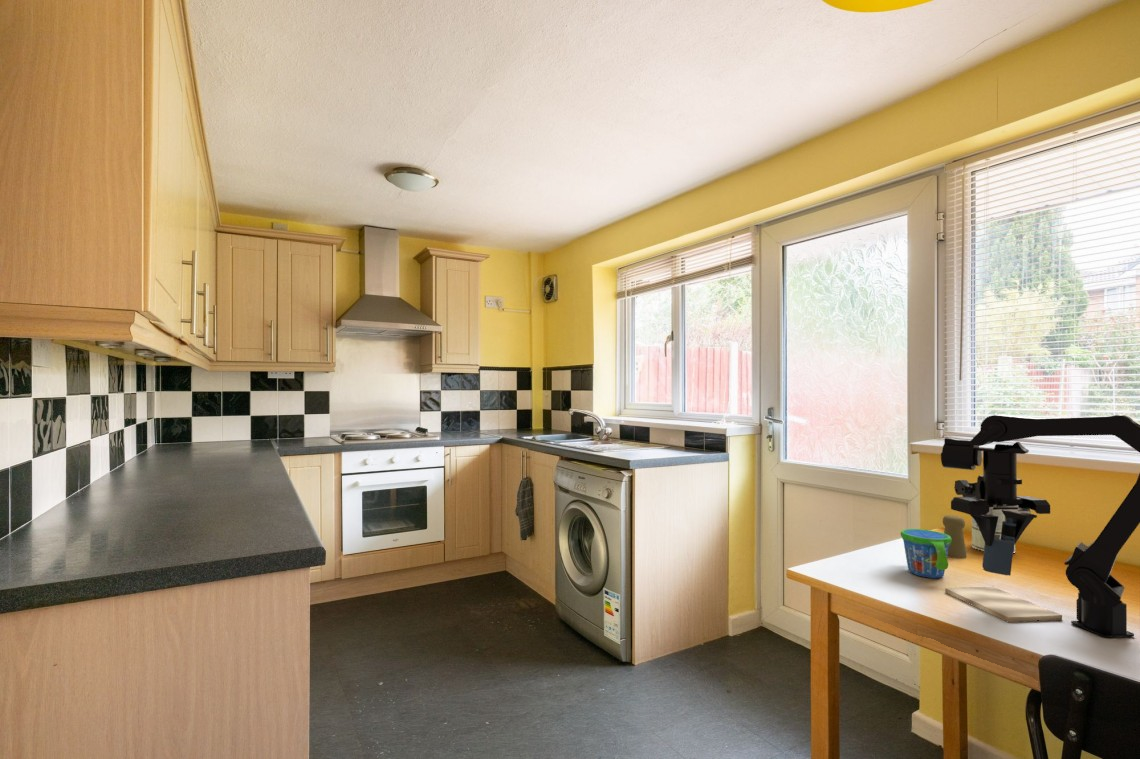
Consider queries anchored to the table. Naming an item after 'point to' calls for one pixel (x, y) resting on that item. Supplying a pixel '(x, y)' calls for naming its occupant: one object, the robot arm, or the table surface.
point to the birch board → (1003, 604)
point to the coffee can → (977, 536)
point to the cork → (955, 536)
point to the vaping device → (1000, 550)
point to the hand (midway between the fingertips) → (1000, 545)
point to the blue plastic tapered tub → (926, 552)
